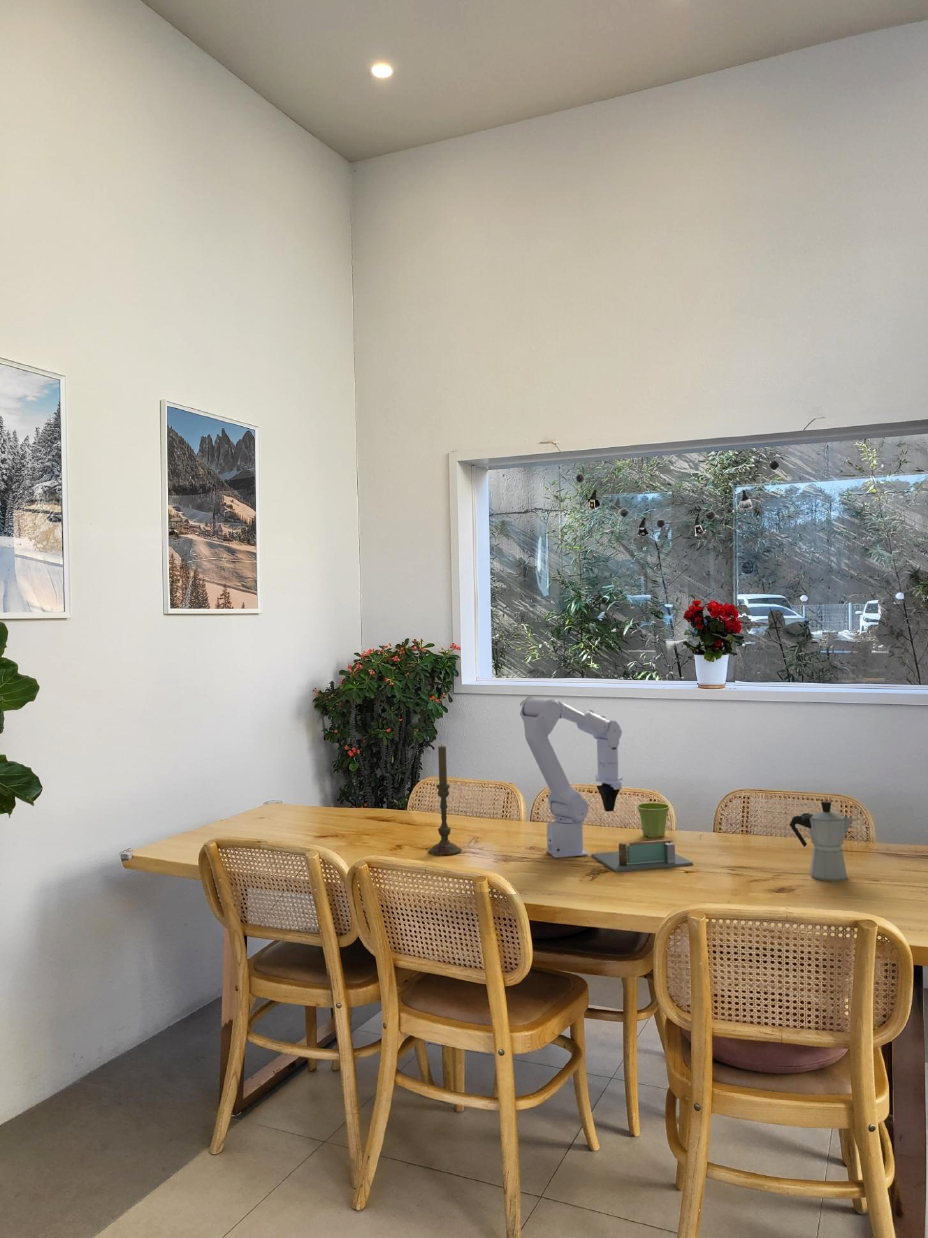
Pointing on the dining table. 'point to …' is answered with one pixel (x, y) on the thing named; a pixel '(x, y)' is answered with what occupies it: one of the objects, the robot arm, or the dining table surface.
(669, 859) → the dark grey rectangular block
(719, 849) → the dining table surface
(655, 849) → the gate
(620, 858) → the hinge post
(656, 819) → the plant pot
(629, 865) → the slate mat
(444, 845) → the candlestick holder
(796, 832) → the coffee maker
